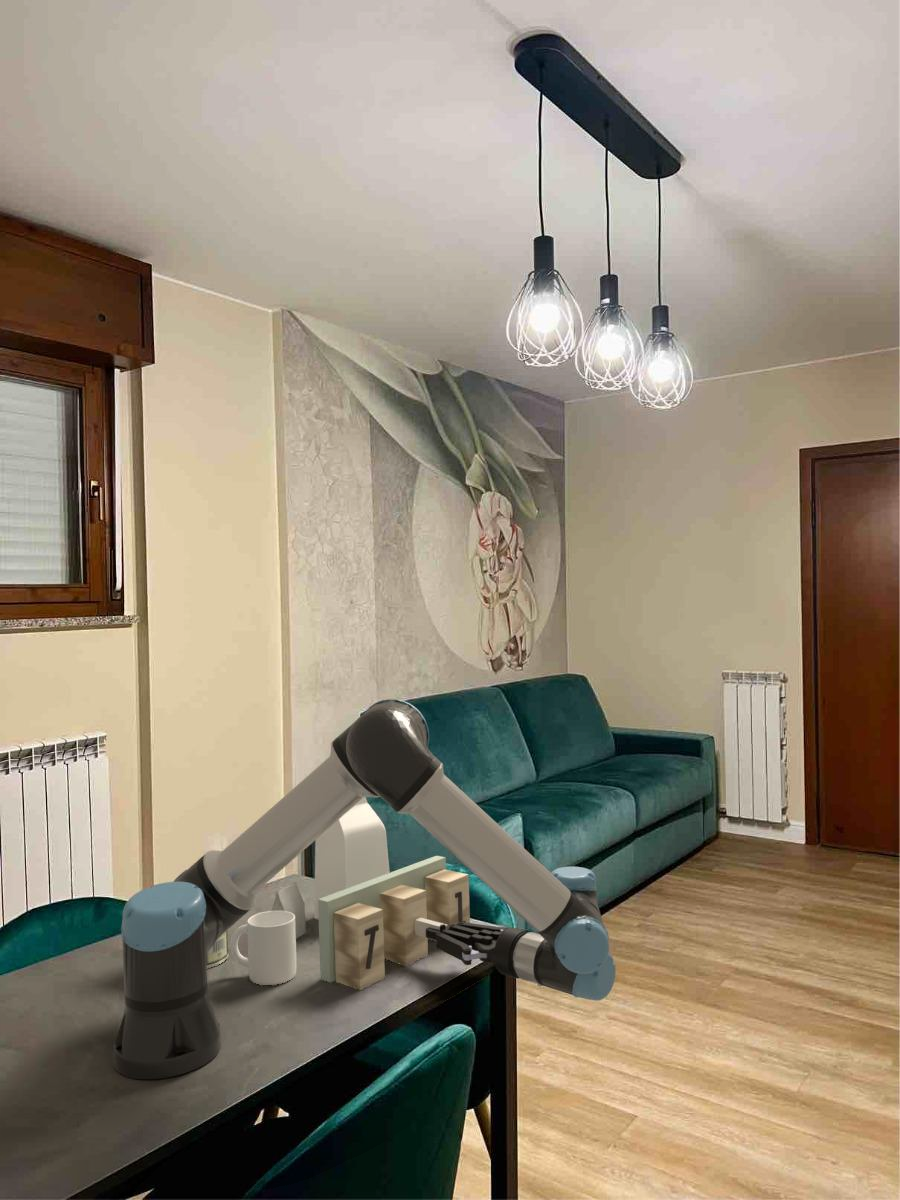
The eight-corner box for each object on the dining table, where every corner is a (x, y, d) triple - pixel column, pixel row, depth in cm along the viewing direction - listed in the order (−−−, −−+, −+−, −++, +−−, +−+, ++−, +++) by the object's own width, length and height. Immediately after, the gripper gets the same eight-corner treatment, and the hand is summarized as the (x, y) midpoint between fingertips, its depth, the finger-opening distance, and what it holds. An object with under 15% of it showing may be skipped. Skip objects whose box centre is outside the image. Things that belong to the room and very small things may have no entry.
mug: (221, 984, 157) (219, 924, 157) (242, 964, 165) (240, 908, 165) (285, 988, 155) (283, 928, 155) (303, 968, 163) (302, 911, 163)
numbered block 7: (386, 978, 157) (383, 909, 157) (361, 990, 153) (359, 919, 153) (360, 970, 161) (358, 902, 161) (335, 981, 157) (333, 912, 157)
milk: (346, 931, 180) (342, 801, 180) (314, 918, 189) (310, 793, 189) (393, 916, 188) (389, 791, 188) (360, 903, 197) (356, 784, 197)
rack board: (447, 927, 181) (445, 857, 181) (330, 982, 156) (327, 901, 156) (438, 925, 182) (436, 855, 182) (320, 979, 158) (318, 899, 158)
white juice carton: (305, 932, 181) (303, 882, 181) (287, 945, 174) (285, 893, 174) (289, 930, 182) (287, 881, 182) (271, 943, 176) (269, 891, 176)
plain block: (428, 955, 167) (426, 890, 167) (406, 966, 162) (404, 899, 162) (403, 948, 171) (402, 884, 171) (382, 958, 166) (379, 893, 166)
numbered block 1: (471, 936, 176) (469, 874, 176) (451, 946, 171) (449, 882, 171) (446, 929, 180) (444, 869, 180) (426, 939, 175) (425, 877, 175)
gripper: (502, 992, 144) (393, 958, 159) (547, 965, 154) (441, 935, 169) (500, 945, 144) (392, 915, 159) (545, 921, 154) (440, 895, 169)
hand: (417, 926), depth 164 cm, fingers closed
